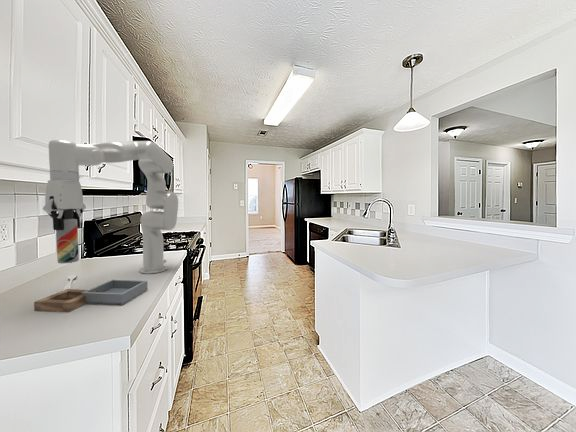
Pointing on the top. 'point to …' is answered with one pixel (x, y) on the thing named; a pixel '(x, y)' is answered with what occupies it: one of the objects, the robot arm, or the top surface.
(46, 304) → the socket stand
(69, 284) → the fork
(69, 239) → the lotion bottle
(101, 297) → the tray
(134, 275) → the top surface
